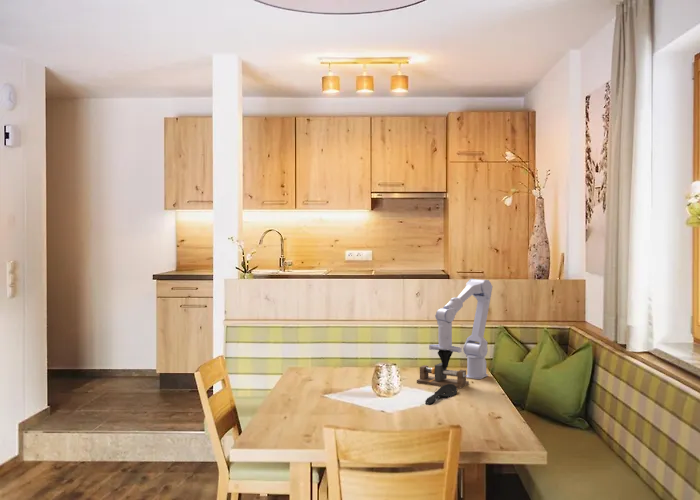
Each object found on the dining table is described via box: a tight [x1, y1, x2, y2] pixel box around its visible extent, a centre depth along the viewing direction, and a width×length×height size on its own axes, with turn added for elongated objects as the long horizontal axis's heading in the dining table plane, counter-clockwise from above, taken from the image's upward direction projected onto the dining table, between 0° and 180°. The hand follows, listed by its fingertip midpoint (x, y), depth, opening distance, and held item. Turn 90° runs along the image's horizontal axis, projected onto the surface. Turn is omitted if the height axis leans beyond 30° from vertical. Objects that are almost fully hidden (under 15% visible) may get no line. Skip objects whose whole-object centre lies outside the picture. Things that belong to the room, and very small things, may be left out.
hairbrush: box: [424, 382, 458, 406], centre depth 268 cm, size 8×4×25 cm
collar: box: [434, 362, 448, 381], centre depth 292 cm, size 7×2×7 cm, turn 146°
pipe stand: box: [416, 364, 470, 390], centre depth 292 cm, size 10×20×6 cm, turn 56°
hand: (445, 367), depth 291 cm, fingers closed
